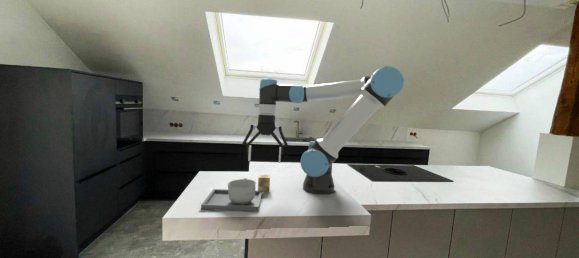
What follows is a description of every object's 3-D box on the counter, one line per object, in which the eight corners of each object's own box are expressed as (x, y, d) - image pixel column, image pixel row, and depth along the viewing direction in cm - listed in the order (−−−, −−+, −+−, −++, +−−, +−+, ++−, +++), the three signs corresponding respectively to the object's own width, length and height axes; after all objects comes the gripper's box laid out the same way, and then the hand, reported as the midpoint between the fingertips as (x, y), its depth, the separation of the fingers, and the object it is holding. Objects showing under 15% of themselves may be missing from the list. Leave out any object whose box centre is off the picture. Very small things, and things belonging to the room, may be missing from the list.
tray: (261, 194, 114) (262, 190, 114) (258, 211, 97) (258, 206, 96) (213, 193, 114) (213, 189, 113) (200, 209, 96) (201, 204, 96)
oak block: (269, 189, 122) (270, 175, 121) (269, 193, 117) (269, 178, 116) (258, 189, 122) (259, 174, 121) (257, 192, 117) (258, 177, 116)
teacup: (249, 208, 97) (250, 187, 97) (222, 205, 99) (222, 184, 99) (260, 196, 111) (261, 178, 110) (237, 193, 113) (237, 175, 112)
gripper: (294, 115, 121) (291, 160, 122) (240, 112, 120) (238, 158, 121) (295, 116, 113) (292, 164, 115) (237, 112, 112) (235, 161, 114)
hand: (264, 161), depth 118 cm, fingers open, 13 cm apart
